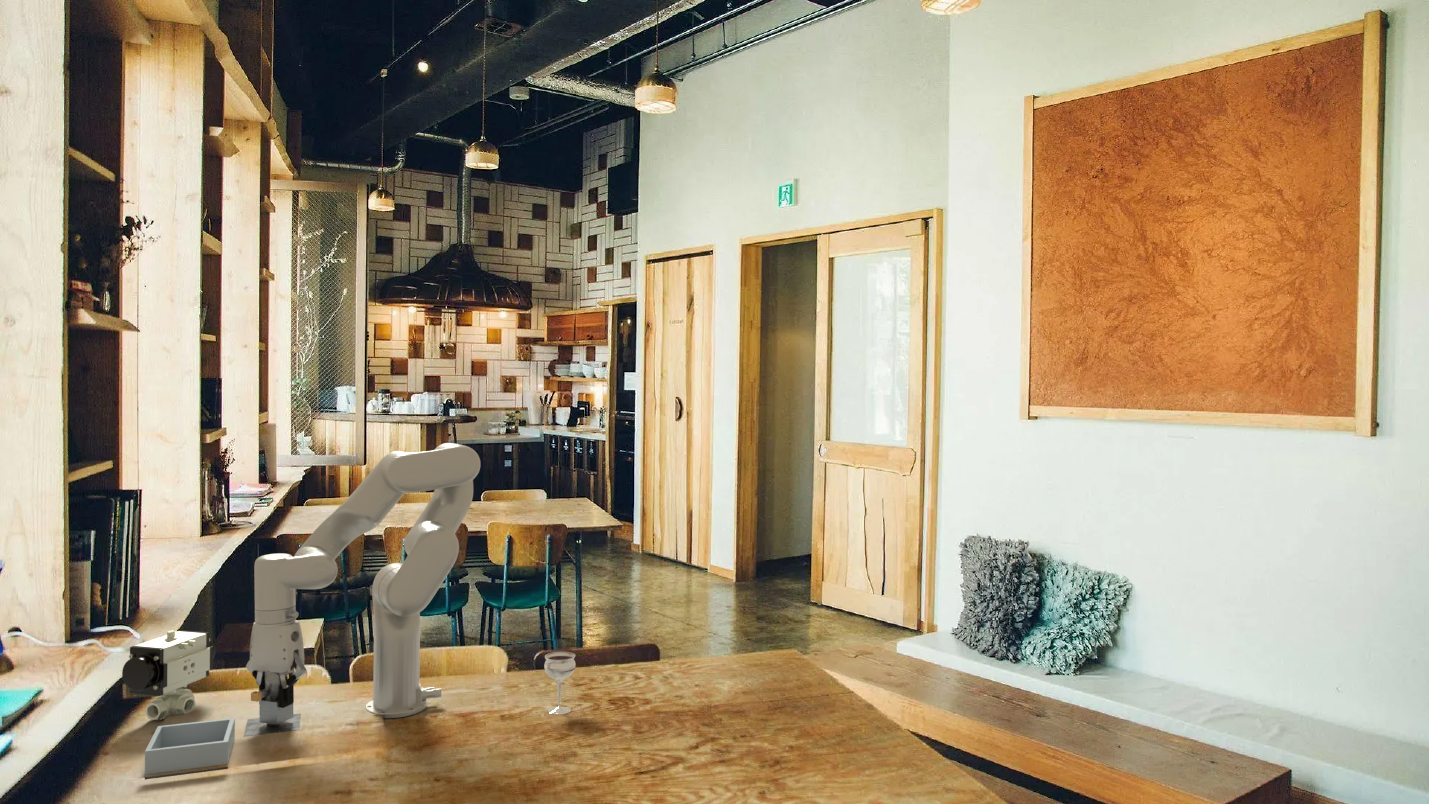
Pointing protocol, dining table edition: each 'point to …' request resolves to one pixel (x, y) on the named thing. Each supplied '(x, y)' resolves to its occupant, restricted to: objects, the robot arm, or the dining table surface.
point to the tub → (190, 747)
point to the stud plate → (271, 726)
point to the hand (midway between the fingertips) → (276, 703)
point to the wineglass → (559, 674)
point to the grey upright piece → (272, 701)
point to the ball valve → (169, 670)
